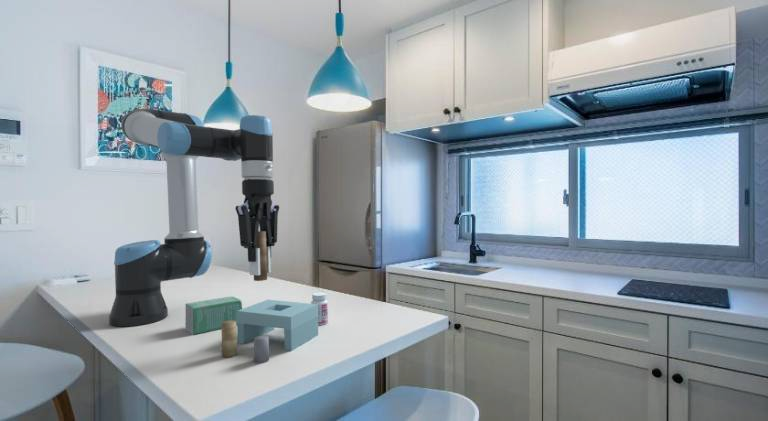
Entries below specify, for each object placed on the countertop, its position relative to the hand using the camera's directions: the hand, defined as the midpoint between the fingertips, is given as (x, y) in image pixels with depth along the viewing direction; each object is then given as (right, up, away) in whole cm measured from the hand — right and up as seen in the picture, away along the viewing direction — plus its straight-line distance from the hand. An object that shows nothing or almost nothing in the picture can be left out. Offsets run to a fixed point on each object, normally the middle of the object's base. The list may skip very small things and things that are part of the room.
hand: (260, 273), depth 99 cm
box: (-17, -18, +13) cm, 28 cm away
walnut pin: (0, -2, 0) cm, 2 cm away
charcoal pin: (+4, -17, -11) cm, 21 cm away
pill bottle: (+12, -17, +16) cm, 26 cm away
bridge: (+4, -17, +3) cm, 18 cm away
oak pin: (-5, -17, -8) cm, 20 cm away
